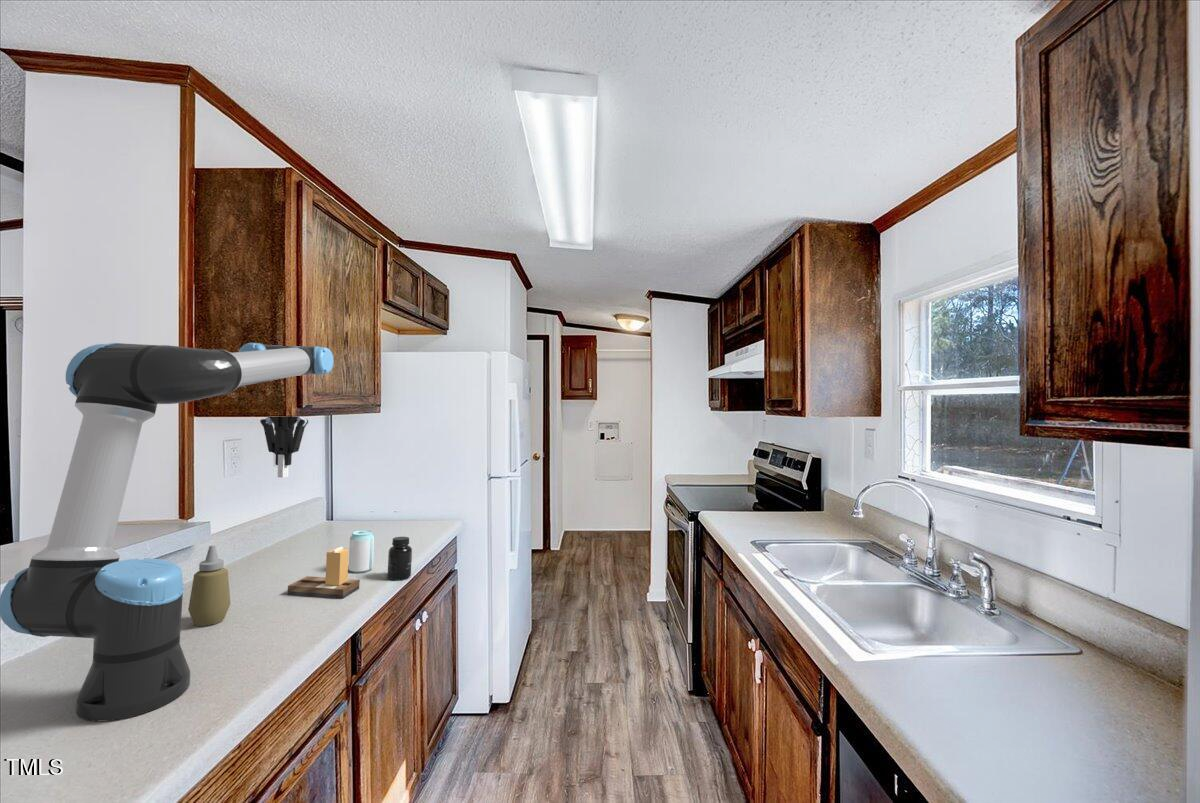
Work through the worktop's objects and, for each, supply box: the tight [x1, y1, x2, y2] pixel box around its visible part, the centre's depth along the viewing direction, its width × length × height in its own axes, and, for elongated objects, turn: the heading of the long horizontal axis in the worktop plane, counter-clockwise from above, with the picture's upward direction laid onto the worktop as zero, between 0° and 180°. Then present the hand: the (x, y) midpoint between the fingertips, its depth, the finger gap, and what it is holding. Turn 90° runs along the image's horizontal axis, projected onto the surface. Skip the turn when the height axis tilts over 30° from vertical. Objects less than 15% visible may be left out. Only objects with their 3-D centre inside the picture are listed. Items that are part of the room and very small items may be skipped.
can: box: [348, 529, 375, 574], centre depth 165 cm, size 7×7×12 cm
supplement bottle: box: [386, 536, 413, 581], centre depth 160 cm, size 7×7×12 cm
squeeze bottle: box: [188, 545, 231, 627], centre depth 124 cm, size 8×8×18 cm
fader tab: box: [325, 546, 349, 586], centre depth 146 cm, size 4×4×11 cm
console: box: [287, 575, 361, 600], centre depth 146 cm, size 16×8×3 cm, turn 85°
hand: (283, 476), depth 151 cm, fingers closed
